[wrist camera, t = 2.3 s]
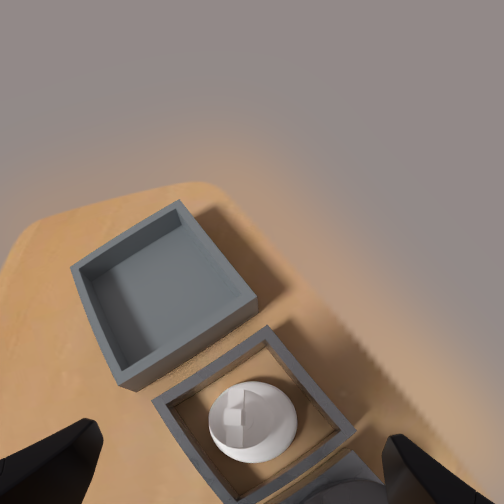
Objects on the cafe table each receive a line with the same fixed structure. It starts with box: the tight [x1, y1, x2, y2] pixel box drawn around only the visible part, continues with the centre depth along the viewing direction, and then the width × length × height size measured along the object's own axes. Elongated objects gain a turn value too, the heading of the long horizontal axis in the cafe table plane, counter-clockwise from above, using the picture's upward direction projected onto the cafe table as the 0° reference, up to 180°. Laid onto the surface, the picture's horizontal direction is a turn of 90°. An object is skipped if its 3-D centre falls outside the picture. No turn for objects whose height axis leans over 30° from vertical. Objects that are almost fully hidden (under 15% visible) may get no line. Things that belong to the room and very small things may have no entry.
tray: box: [70, 199, 259, 392], centre depth 19 cm, size 9×9×2 cm
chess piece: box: [209, 381, 297, 463], centre depth 11 cm, size 5×5×10 cm
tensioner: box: [151, 325, 388, 504], centre depth 12 cm, size 15×8×4 cm, turn 36°
